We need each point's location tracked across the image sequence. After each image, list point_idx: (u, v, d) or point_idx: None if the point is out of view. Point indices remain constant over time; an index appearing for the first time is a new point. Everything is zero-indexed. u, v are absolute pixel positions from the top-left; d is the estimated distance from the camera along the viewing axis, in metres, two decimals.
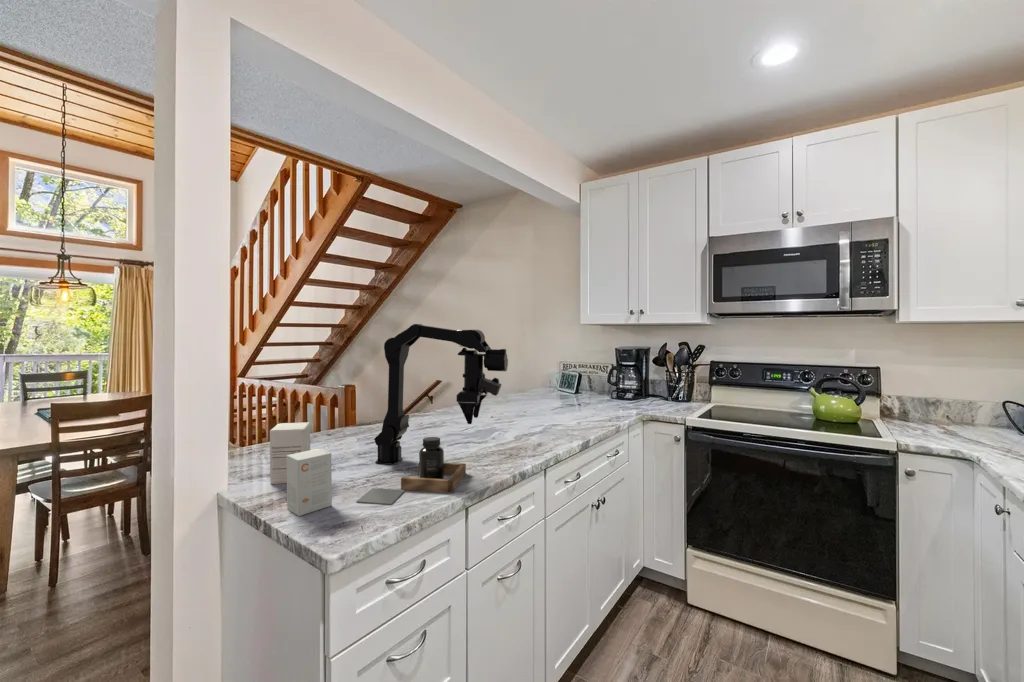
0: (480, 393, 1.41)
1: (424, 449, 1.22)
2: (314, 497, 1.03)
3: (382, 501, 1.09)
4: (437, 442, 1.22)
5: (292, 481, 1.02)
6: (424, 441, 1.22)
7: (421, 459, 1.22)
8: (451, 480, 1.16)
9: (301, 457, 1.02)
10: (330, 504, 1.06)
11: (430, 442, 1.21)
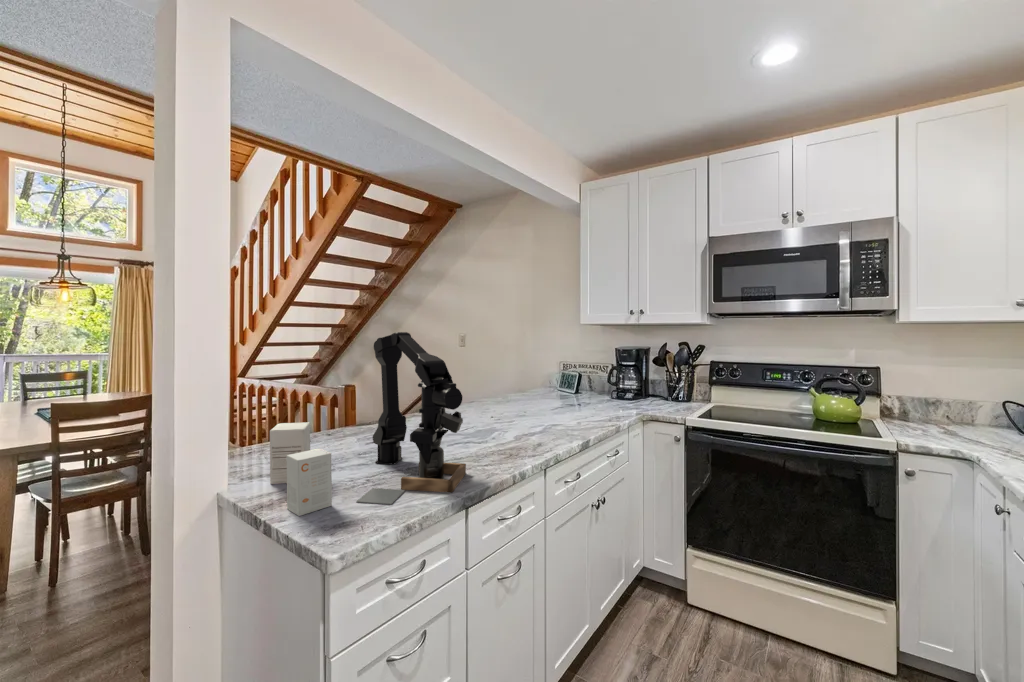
0: (440, 429, 1.28)
1: None
2: (314, 497, 1.03)
3: (382, 501, 1.09)
4: (437, 442, 1.22)
5: (292, 481, 1.02)
6: None
7: (421, 459, 1.22)
8: (451, 480, 1.16)
9: (301, 457, 1.02)
10: (330, 504, 1.06)
11: None
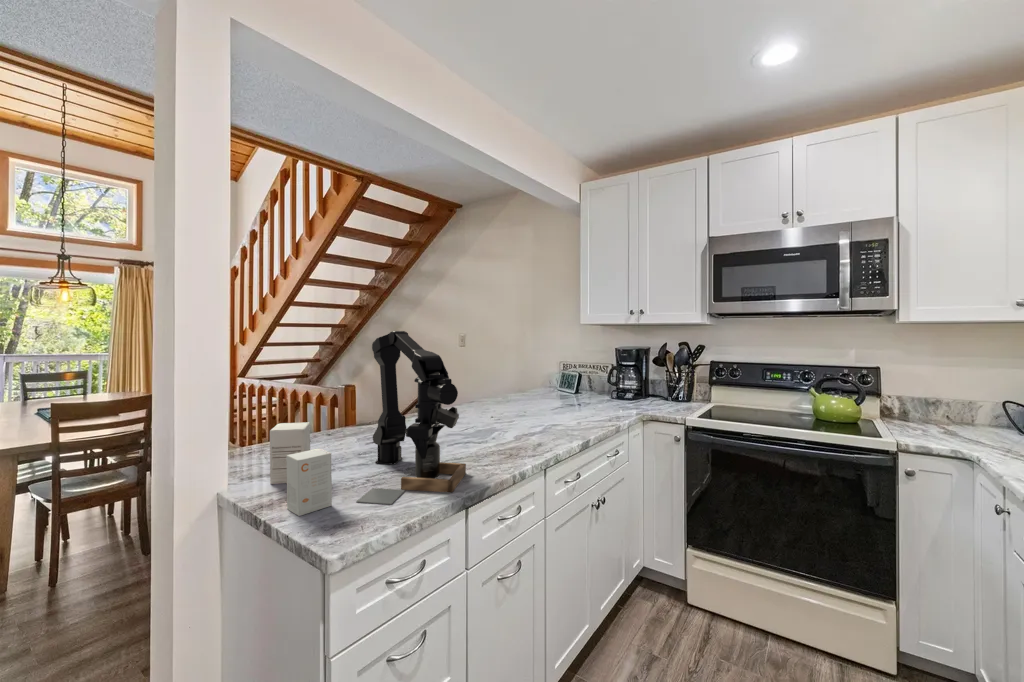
0: (436, 424, 1.28)
1: None
2: (314, 497, 1.03)
3: (382, 501, 1.09)
4: (433, 437, 1.23)
5: (292, 481, 1.02)
6: None
7: (417, 454, 1.22)
8: (451, 480, 1.16)
9: (301, 457, 1.02)
10: (330, 504, 1.06)
11: None
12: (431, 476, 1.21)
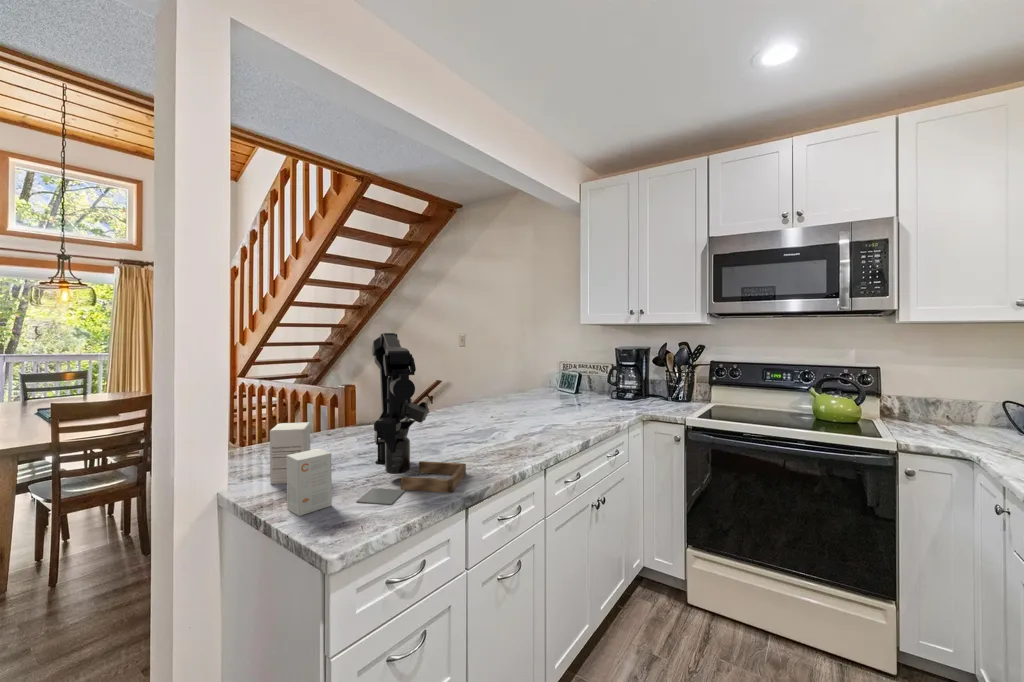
0: (407, 419, 1.29)
1: None
2: (314, 497, 1.03)
3: (382, 501, 1.09)
4: (403, 432, 1.24)
5: (292, 481, 1.02)
6: None
7: (386, 449, 1.23)
8: (451, 480, 1.16)
9: (301, 457, 1.02)
10: (330, 504, 1.06)
11: None
12: (400, 470, 1.22)
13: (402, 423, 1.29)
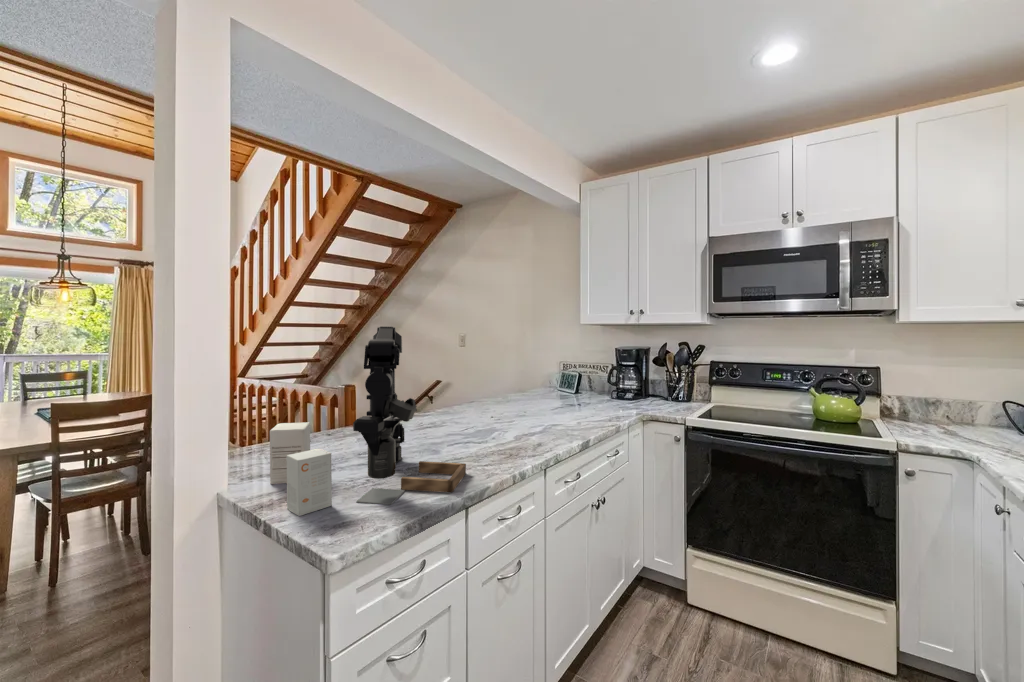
0: (392, 417, 1.16)
1: None
2: (314, 497, 1.03)
3: (382, 501, 1.09)
4: (387, 432, 1.11)
5: (292, 481, 1.02)
6: None
7: (369, 450, 1.10)
8: (451, 480, 1.16)
9: (301, 457, 1.02)
10: (330, 504, 1.06)
11: None
12: (384, 475, 1.09)
13: (387, 422, 1.16)
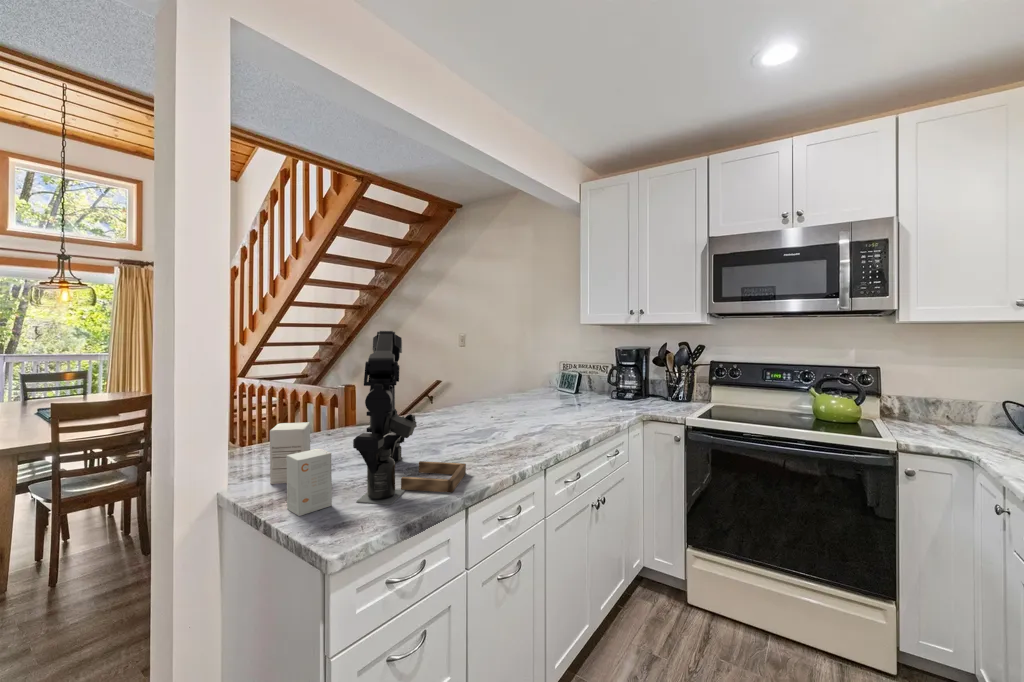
0: (394, 432, 1.17)
1: None
2: (314, 497, 1.03)
3: (382, 501, 1.09)
4: (387, 453, 1.11)
5: (292, 481, 1.02)
6: None
7: (368, 472, 1.10)
8: (451, 480, 1.16)
9: (301, 457, 1.02)
10: (330, 504, 1.06)
11: None
12: (384, 496, 1.09)
13: (389, 437, 1.17)
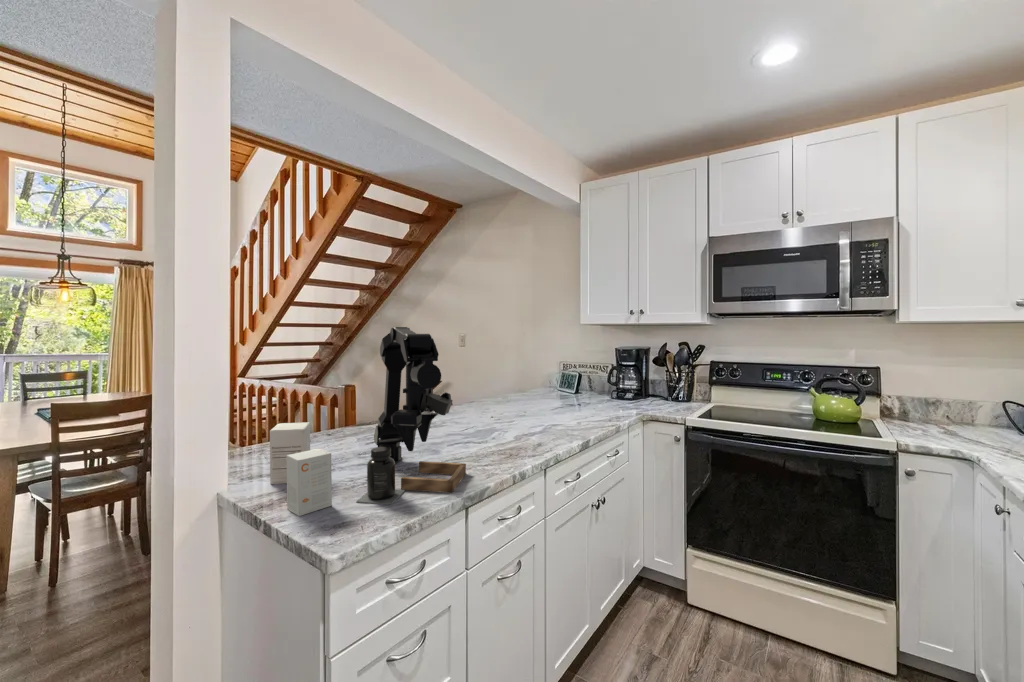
0: (429, 411, 1.15)
1: (372, 461, 1.10)
2: (314, 497, 1.03)
3: (382, 501, 1.09)
4: (386, 453, 1.11)
5: (292, 481, 1.02)
6: (372, 452, 1.10)
7: (368, 472, 1.10)
8: (451, 480, 1.16)
9: (301, 457, 1.02)
10: (330, 504, 1.06)
11: (378, 453, 1.10)
12: (384, 496, 1.09)
13: (423, 416, 1.15)
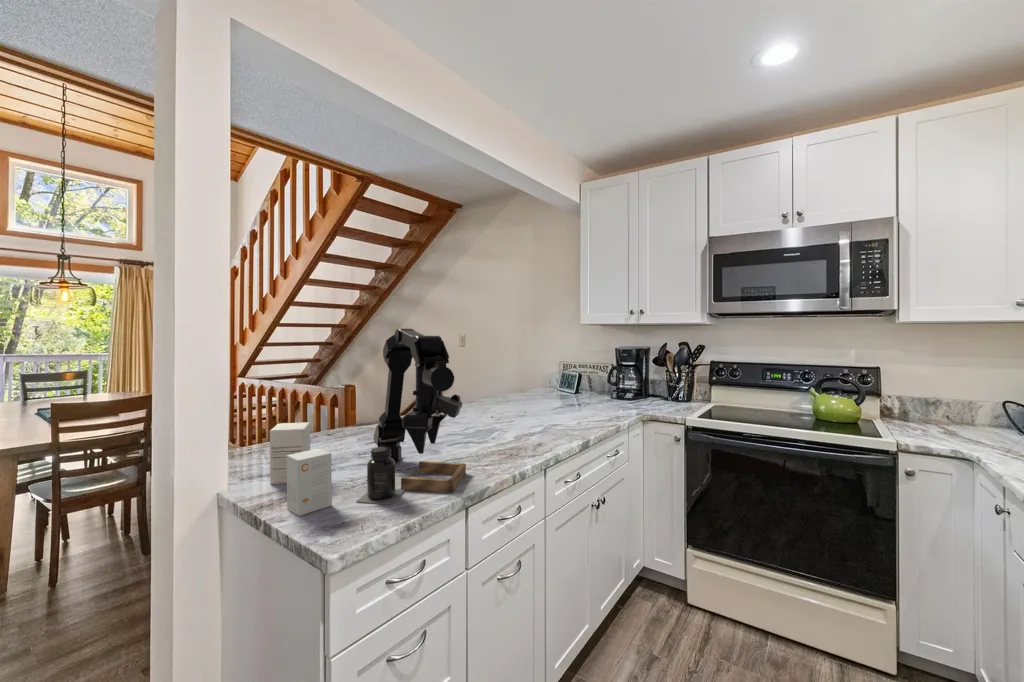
0: (438, 413, 1.15)
1: (372, 461, 1.10)
2: (314, 497, 1.03)
3: (382, 501, 1.09)
4: (387, 453, 1.11)
5: (292, 481, 1.02)
6: (372, 452, 1.10)
7: (368, 472, 1.10)
8: (451, 480, 1.16)
9: (301, 457, 1.02)
10: (330, 504, 1.06)
11: (378, 453, 1.10)
12: (384, 496, 1.09)
13: (432, 418, 1.15)
